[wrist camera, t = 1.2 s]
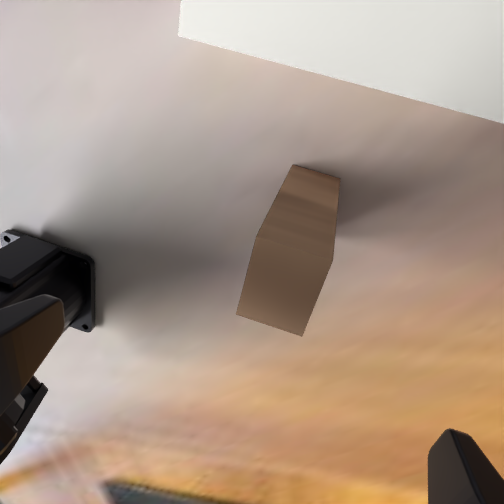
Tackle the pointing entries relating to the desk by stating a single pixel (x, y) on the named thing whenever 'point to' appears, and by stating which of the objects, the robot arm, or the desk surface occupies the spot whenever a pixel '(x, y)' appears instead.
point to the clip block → (371, 44)
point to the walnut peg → (292, 252)
